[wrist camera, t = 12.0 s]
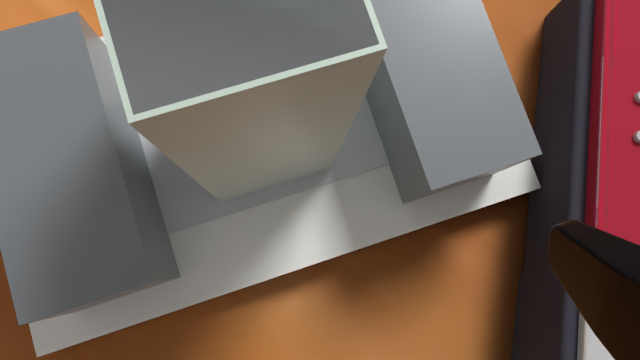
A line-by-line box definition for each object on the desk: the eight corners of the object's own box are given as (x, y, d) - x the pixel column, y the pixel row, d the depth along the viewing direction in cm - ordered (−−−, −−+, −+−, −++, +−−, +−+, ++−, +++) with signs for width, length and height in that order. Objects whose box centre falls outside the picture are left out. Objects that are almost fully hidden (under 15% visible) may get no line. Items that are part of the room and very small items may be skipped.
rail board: (437, -41, 20) (479, -126, 16) (528, 191, 19) (601, 171, 14) (-15, 83, 18) (-113, 26, 14) (51, 351, 17) (-33, 384, 13)
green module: (331, 167, 17) (387, 48, 8) (220, 201, 17) (128, 123, 7) (296, 63, 18) (307, -175, 8) (188, 94, 18) (59, -118, 8)
